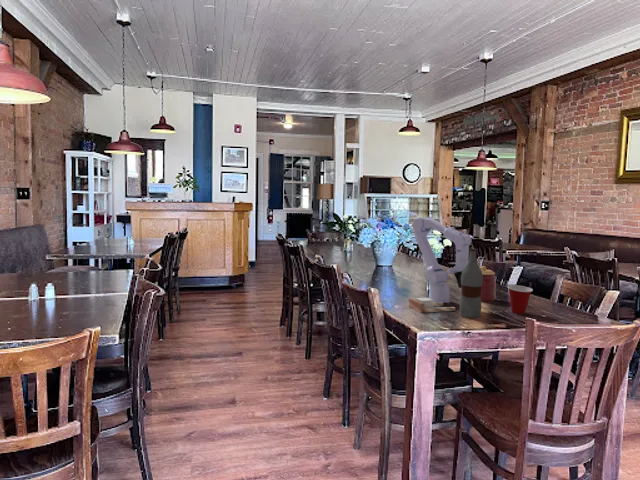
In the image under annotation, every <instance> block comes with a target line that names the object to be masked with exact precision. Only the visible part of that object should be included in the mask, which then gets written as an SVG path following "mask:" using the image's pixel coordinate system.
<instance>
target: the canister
mask: <svg viewBox="0 0 640 480" xmlns="http://www.w3.org/2000/svg"><path fill="white" fill-rule="evenodd" d="M480 269H481V271H482V275H483V282H482V288H481V296H480V297H481V302H485V301H489V302H495V300H496V291H497V290H496V289H497V283H496V280H497V276H496V273H495V272H494V271H493V270H491V269H487V266H485V265H482V266H481V268H480Z"/></svg>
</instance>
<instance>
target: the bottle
mask: <svg viewBox="0 0 640 480" xmlns="http://www.w3.org/2000/svg"><path fill="white" fill-rule="evenodd" d="M482 282H483V275H482V271H481V268H480V266H479V264H478V261H477V248H469V259H468V263H467V265H466V266H465V268H464V269H463V271H462V275H461V288H460V290H461V296H460V297H461V298H460V301H459V313H460V314H459V315H460V316H461V317H463V318H466V319H467V318H468V319H479V318H480V316H481V313H482V301H481V297H480V296H481V288H482Z"/></svg>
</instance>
